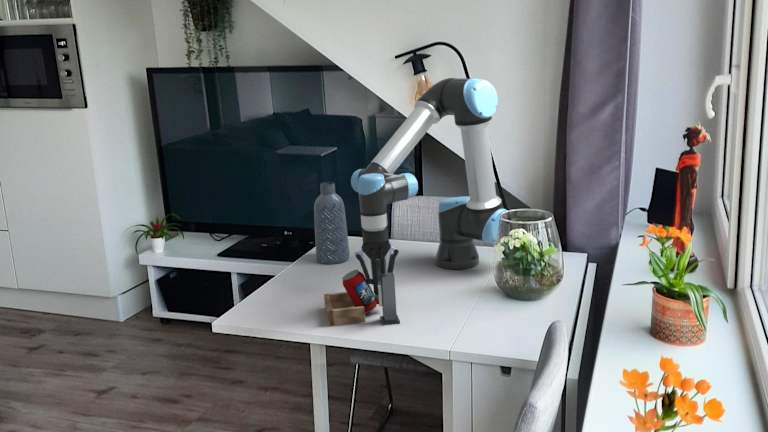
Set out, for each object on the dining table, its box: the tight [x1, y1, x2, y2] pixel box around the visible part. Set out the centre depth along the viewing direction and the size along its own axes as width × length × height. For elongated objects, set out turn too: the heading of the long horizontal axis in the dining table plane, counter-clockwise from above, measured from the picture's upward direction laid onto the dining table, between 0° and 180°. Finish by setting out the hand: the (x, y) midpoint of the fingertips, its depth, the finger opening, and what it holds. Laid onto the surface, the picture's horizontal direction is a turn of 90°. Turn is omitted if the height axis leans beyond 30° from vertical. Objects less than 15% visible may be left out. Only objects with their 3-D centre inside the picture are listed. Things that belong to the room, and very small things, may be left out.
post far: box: [374, 256, 387, 305], centre depth 232 cm, size 5×5×14 cm
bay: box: [323, 291, 366, 327], centre depth 224 cm, size 10×14×4 cm
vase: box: [313, 181, 350, 265], centre depth 274 cm, size 12×12×28 cm
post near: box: [379, 271, 401, 326], centre depth 216 cm, size 5×5×14 cm
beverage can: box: [341, 269, 378, 314], centre depth 223 cm, size 7×7×12 cm
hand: (380, 304), depth 225 cm, fingers closed
